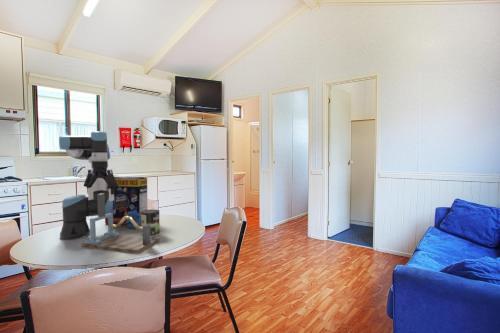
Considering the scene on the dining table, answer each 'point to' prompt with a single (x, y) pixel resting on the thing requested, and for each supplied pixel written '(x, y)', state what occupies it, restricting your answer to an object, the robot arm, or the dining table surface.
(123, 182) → the cereal box
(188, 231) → the dining table surface
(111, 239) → the board
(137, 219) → the blue rounded piece
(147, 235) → the buzz wire
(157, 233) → the coffee can
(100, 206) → the grey frame
